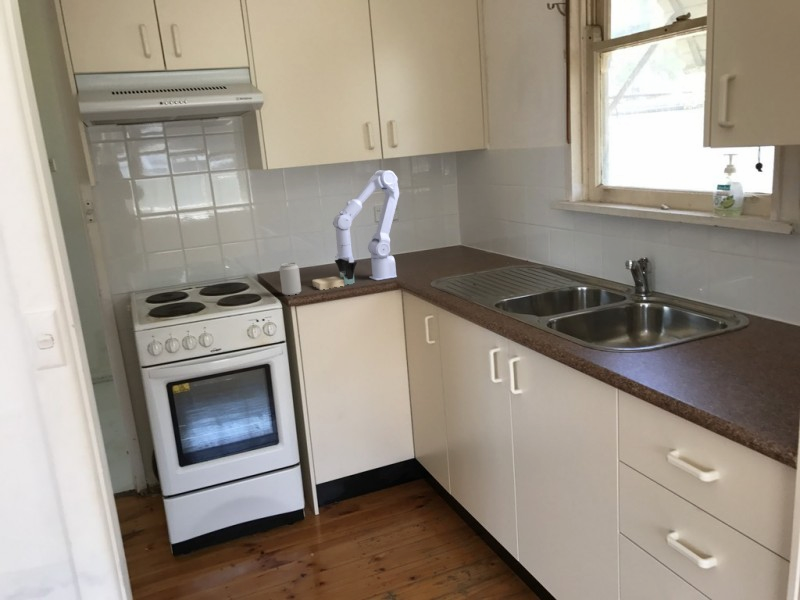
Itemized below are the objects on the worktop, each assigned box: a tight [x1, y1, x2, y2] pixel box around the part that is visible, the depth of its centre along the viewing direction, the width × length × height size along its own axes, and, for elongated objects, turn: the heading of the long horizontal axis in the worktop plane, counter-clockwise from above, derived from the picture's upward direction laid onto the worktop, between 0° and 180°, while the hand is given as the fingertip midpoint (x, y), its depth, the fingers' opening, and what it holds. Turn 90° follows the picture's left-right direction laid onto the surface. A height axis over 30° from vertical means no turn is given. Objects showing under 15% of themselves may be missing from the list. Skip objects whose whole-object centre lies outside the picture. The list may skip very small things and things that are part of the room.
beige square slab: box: [311, 276, 345, 291], centre depth 267 cm, size 10×10×3 cm
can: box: [278, 262, 302, 296], centre depth 257 cm, size 8×8×12 cm
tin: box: [339, 271, 356, 286], centre depth 269 cm, size 4×4×5 cm
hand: (347, 277), depth 269 cm, fingers open, 7 cm apart
